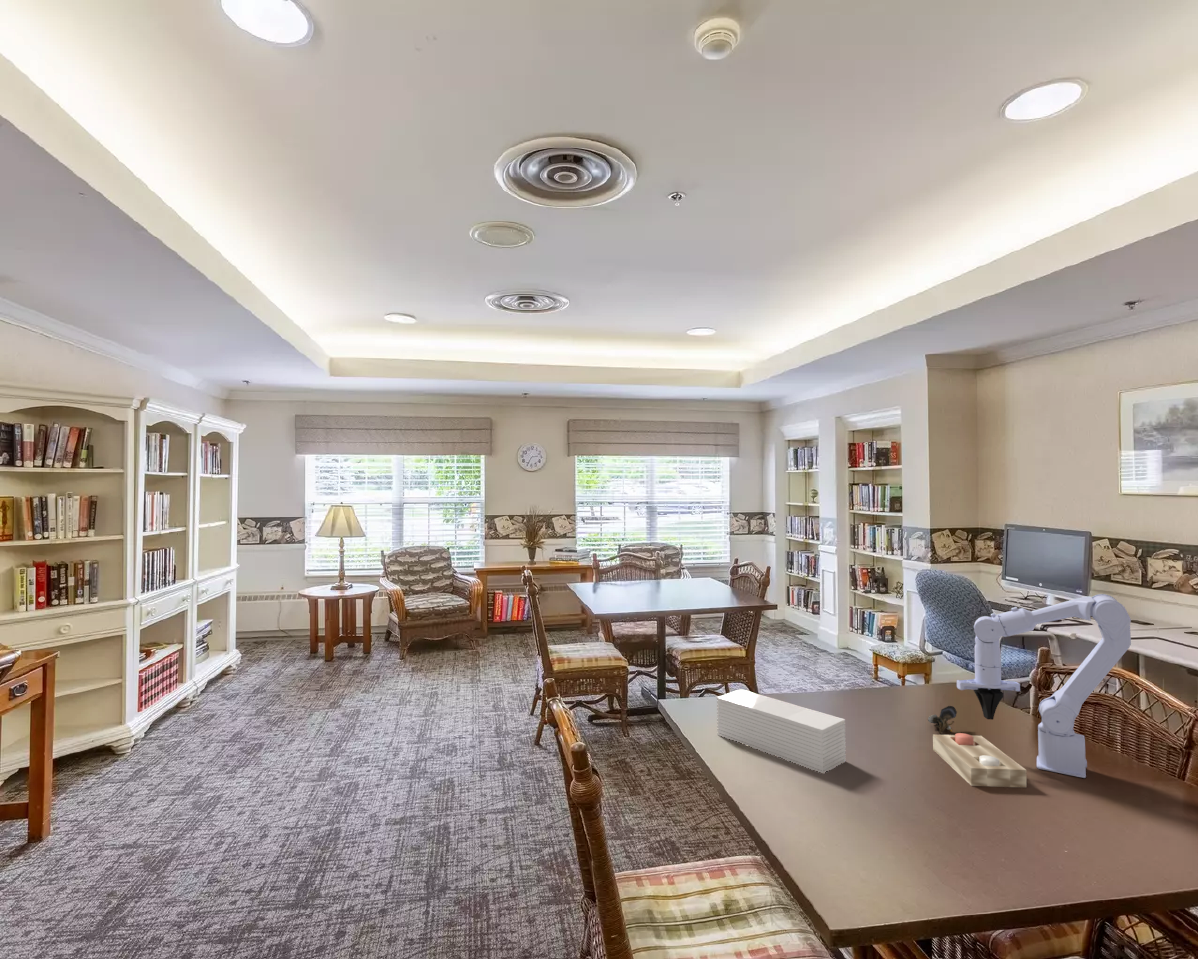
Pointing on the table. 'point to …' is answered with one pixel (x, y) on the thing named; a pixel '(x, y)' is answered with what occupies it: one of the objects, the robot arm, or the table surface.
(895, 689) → the table surface
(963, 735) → the pink rounded plug
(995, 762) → the ivory plunger
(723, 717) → the stack of papers
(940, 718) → the eagle figurine
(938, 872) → the table surface
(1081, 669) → the robot arm
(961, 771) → the press housing
